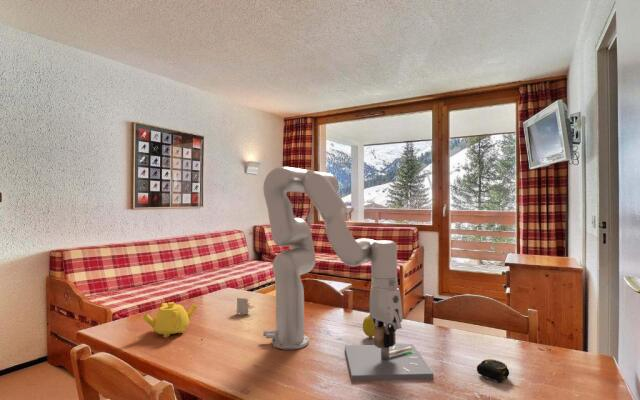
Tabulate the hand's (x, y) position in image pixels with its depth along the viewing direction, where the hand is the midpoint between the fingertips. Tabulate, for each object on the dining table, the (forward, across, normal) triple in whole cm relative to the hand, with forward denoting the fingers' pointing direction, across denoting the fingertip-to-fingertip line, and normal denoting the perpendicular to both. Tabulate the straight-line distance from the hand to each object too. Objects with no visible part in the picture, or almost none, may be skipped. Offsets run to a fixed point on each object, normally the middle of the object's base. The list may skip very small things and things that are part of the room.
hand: (385, 344), depth 106 cm
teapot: (+6, +62, +50) cm, 80 cm away
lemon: (+6, +18, -9) cm, 21 cm away
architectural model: (+6, +68, +20) cm, 72 cm away
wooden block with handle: (+4, 0, -3) cm, 5 cm away
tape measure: (+6, -22, -19) cm, 30 cm away
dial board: (+6, 0, 0) cm, 6 cm away
